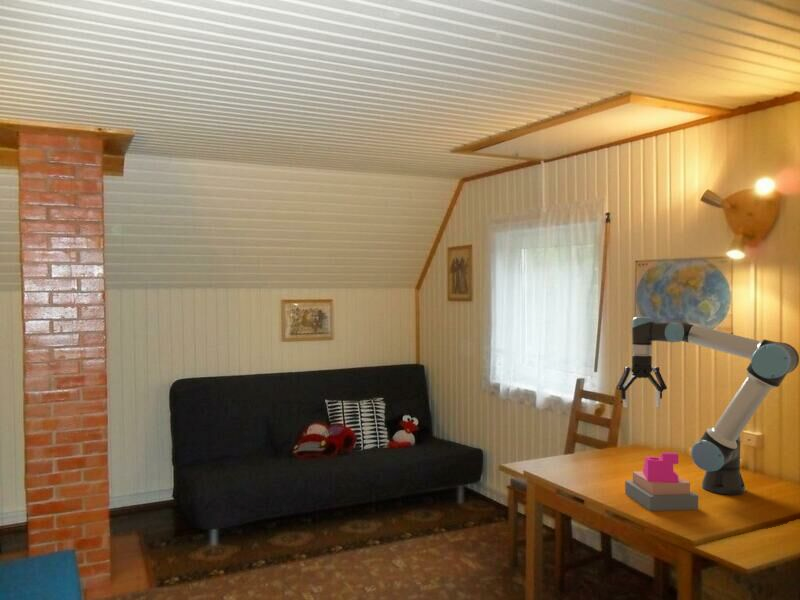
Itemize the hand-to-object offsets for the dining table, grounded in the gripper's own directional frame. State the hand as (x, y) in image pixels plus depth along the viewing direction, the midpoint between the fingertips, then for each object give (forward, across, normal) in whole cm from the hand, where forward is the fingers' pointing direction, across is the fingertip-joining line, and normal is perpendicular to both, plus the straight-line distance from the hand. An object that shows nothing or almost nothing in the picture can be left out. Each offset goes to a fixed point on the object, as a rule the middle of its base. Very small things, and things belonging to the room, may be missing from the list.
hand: (641, 407), depth 270 cm
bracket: (+22, +5, +25) cm, 33 cm away
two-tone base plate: (+31, +4, +24) cm, 39 cm away
